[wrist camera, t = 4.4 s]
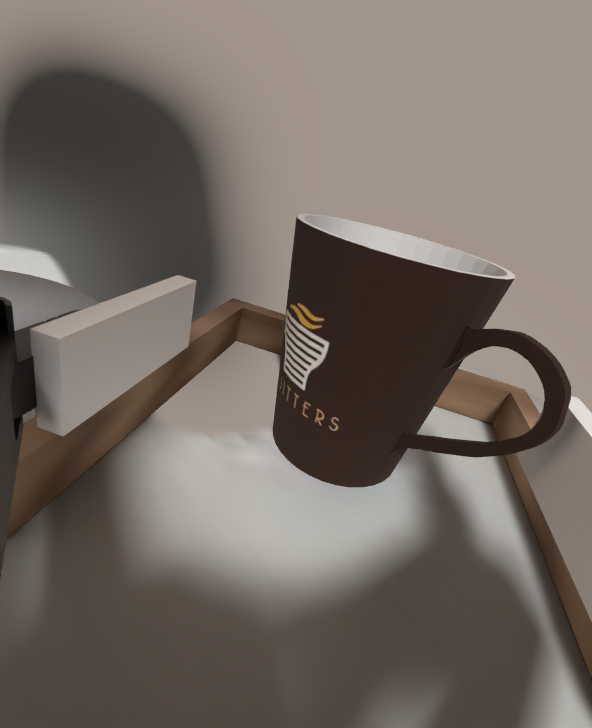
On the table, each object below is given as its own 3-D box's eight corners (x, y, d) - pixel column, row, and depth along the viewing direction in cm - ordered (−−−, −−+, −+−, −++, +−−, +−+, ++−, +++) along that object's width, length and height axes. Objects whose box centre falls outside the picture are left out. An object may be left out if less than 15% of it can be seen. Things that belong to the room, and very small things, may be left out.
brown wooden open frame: (696, 834, 9) (777, 793, 8) (-27, 524, 12) (-39, 461, 11) (506, 421, 26) (524, 389, 25) (227, 330, 29) (232, 298, 28)
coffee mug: (251, 384, 23) (289, 205, 19) (388, 405, 25) (452, 245, 20) (245, 566, 13) (326, 262, 8) (481, 584, 14) (653, 334, 10)
